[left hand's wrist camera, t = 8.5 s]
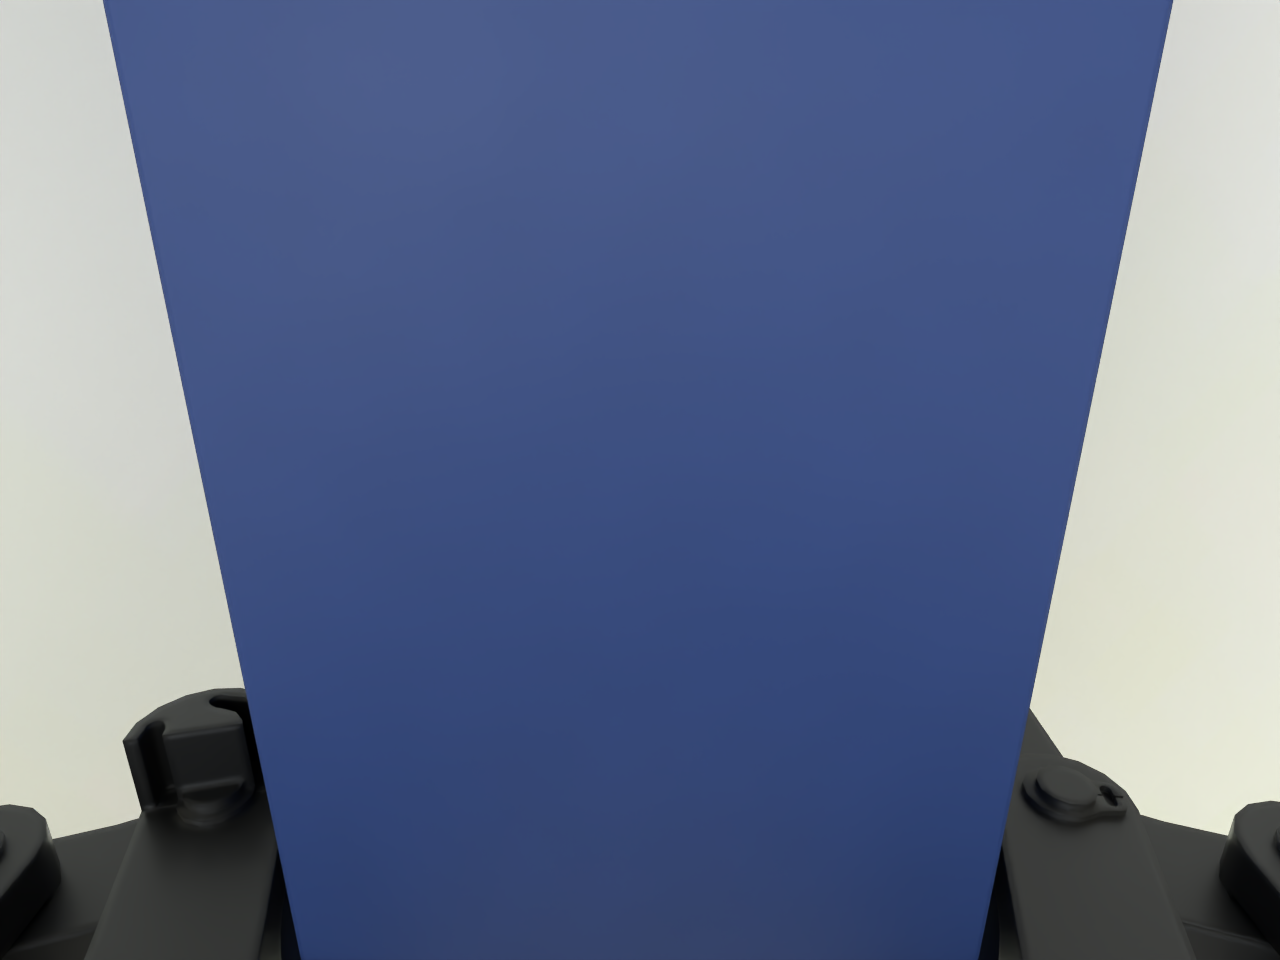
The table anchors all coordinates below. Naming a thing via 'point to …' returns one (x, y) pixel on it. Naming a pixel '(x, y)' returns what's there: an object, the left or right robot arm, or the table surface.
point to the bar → (638, 443)
